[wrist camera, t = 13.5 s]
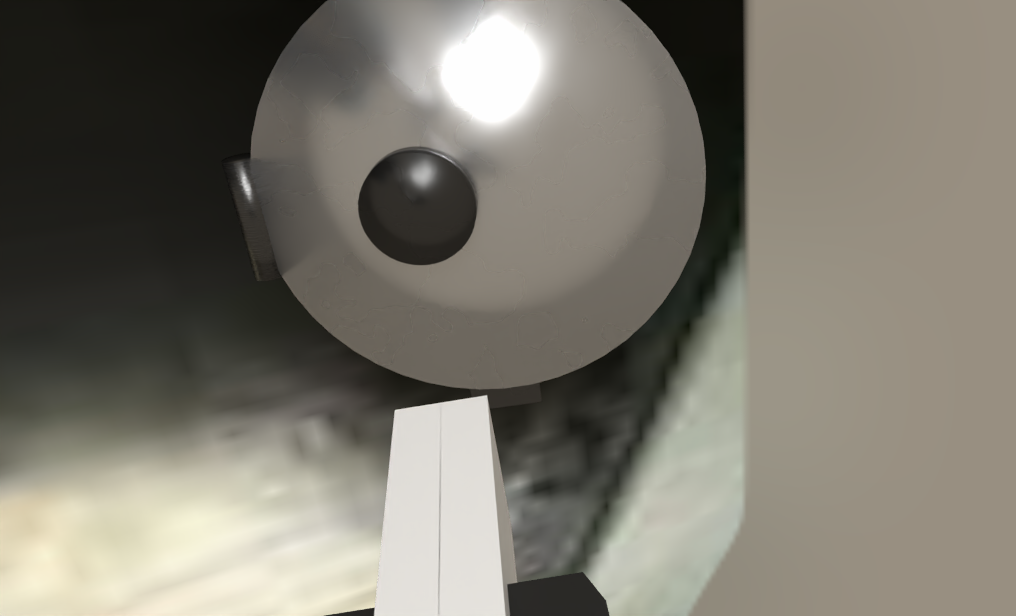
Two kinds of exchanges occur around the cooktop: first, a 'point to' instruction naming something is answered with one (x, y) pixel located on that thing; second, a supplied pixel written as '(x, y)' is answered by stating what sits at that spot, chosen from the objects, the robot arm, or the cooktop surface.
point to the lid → (473, 182)
